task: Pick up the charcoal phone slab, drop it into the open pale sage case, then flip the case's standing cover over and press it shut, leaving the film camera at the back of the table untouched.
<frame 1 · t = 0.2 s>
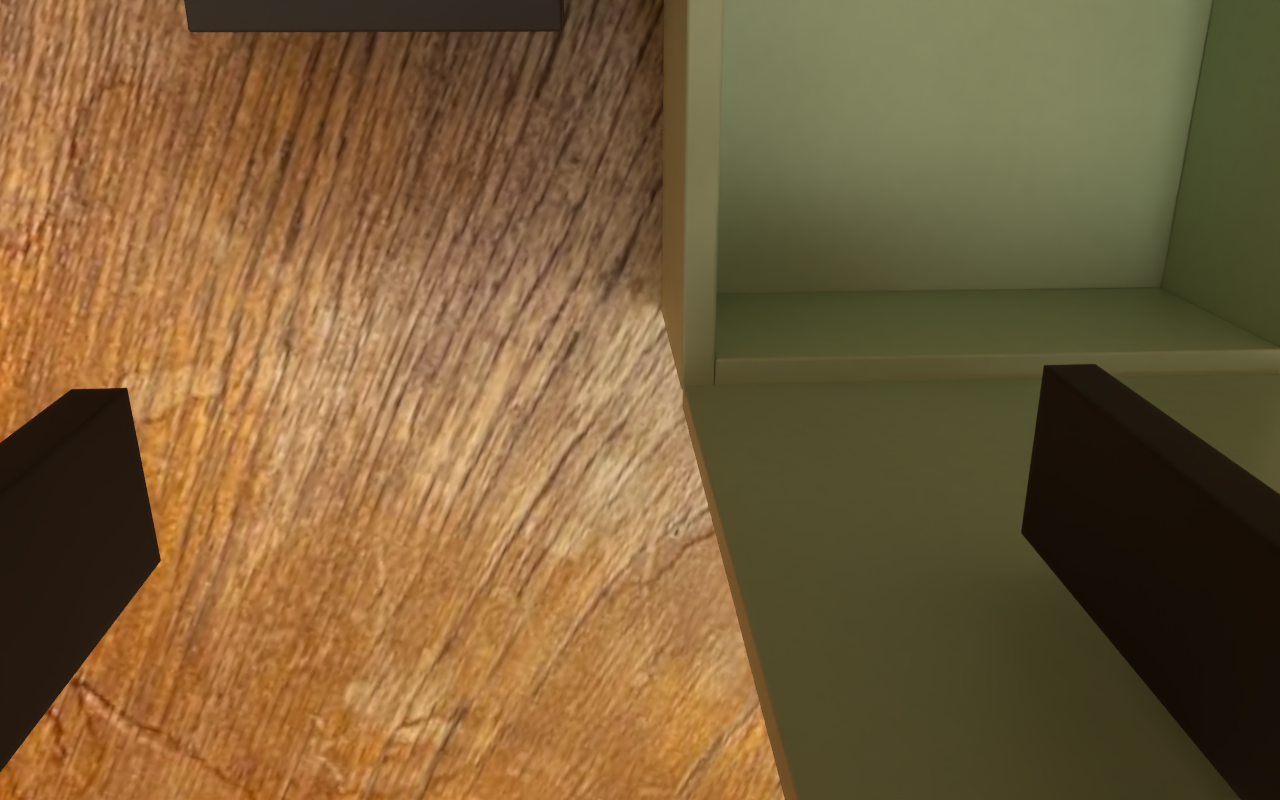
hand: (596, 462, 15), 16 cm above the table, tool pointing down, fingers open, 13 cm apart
cover: (1162, 523, 18), point 14 cm above the table, hinge at 88.6°
case: (940, 75, 29), on the table
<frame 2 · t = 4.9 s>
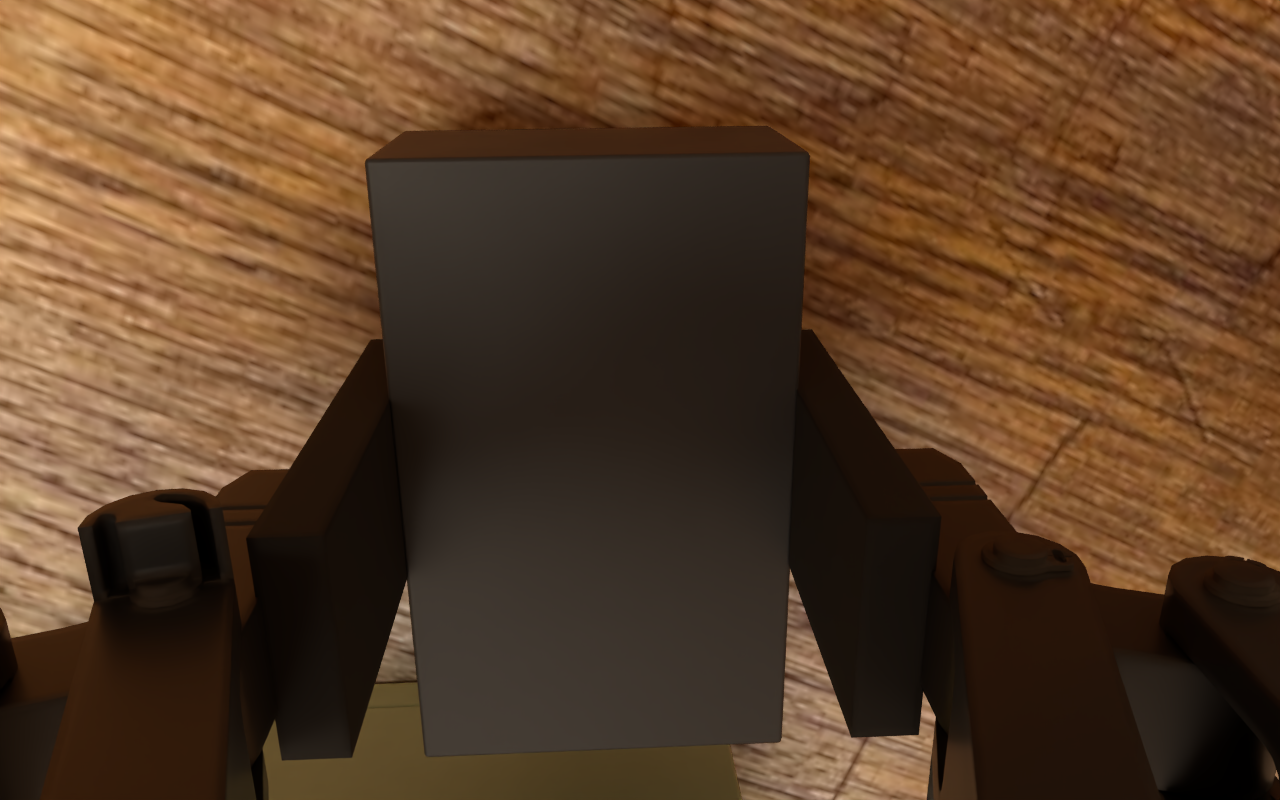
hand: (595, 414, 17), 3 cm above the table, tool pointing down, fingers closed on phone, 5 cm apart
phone: (595, 407, 17), point 3 cm above the table, touching gripper
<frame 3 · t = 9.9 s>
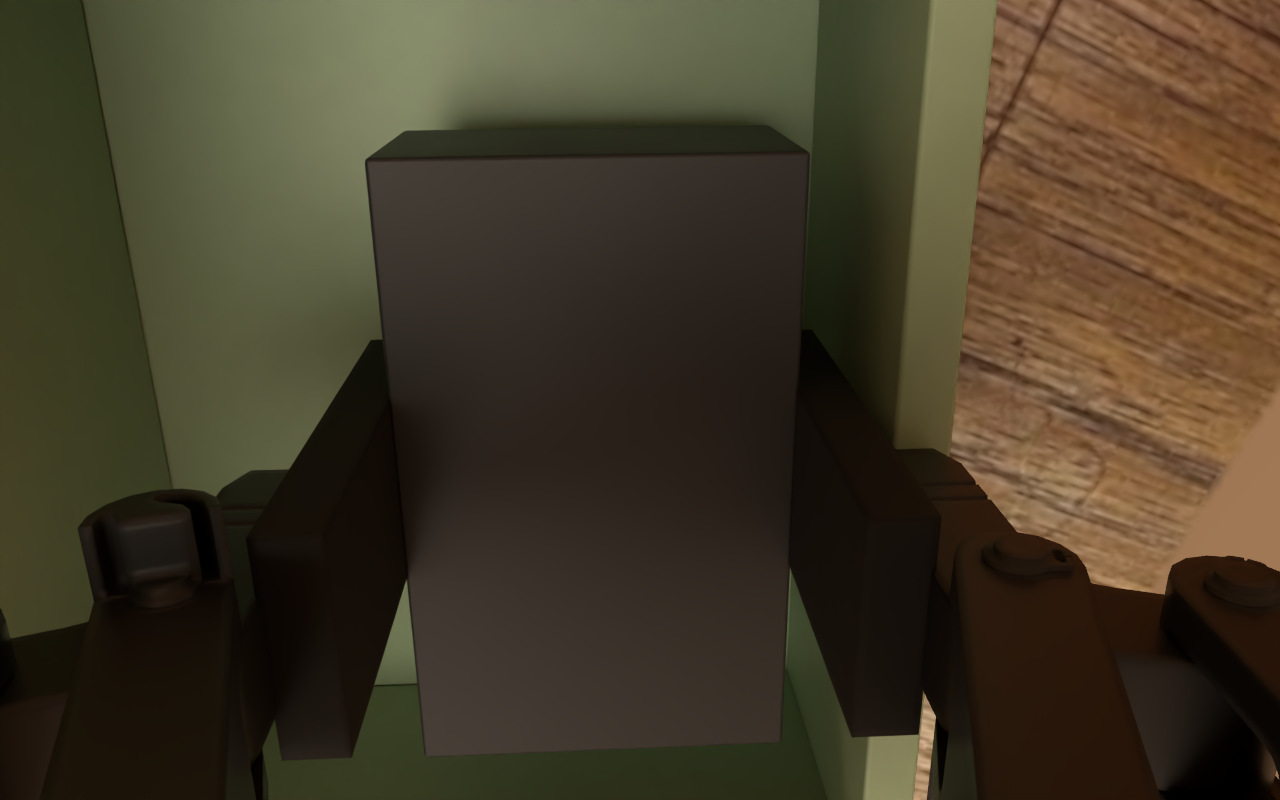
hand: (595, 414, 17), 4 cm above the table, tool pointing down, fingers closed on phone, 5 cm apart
case: (484, 350, 20), on the table
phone: (595, 407, 17), point 3 cm above the table, touching gripper
when the fingers open (6 cm above the table, at t = 17.9 s): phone drops 5 cm, resting on case.
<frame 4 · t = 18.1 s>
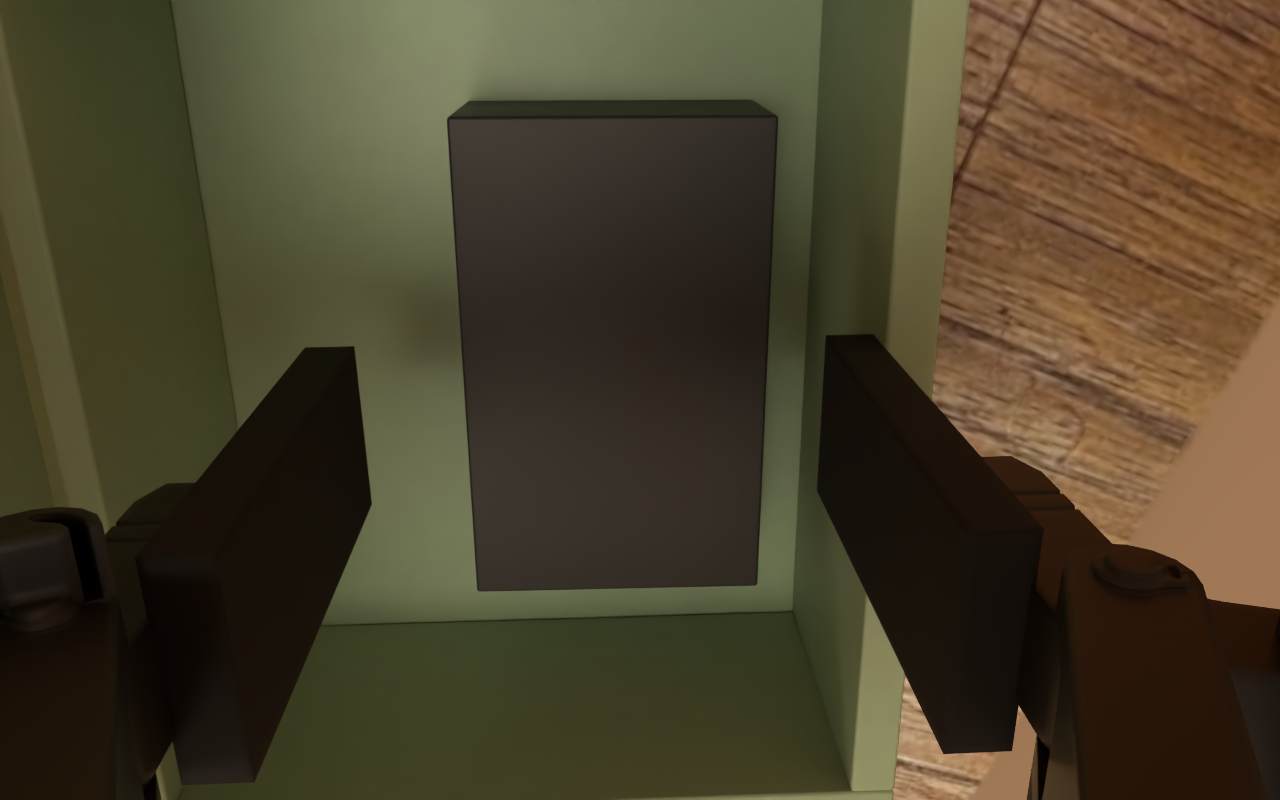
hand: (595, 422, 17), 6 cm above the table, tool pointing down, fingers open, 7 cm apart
case: (520, 316, 22), on the table
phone: (613, 325, 22), point 1 cm above the table, touching case
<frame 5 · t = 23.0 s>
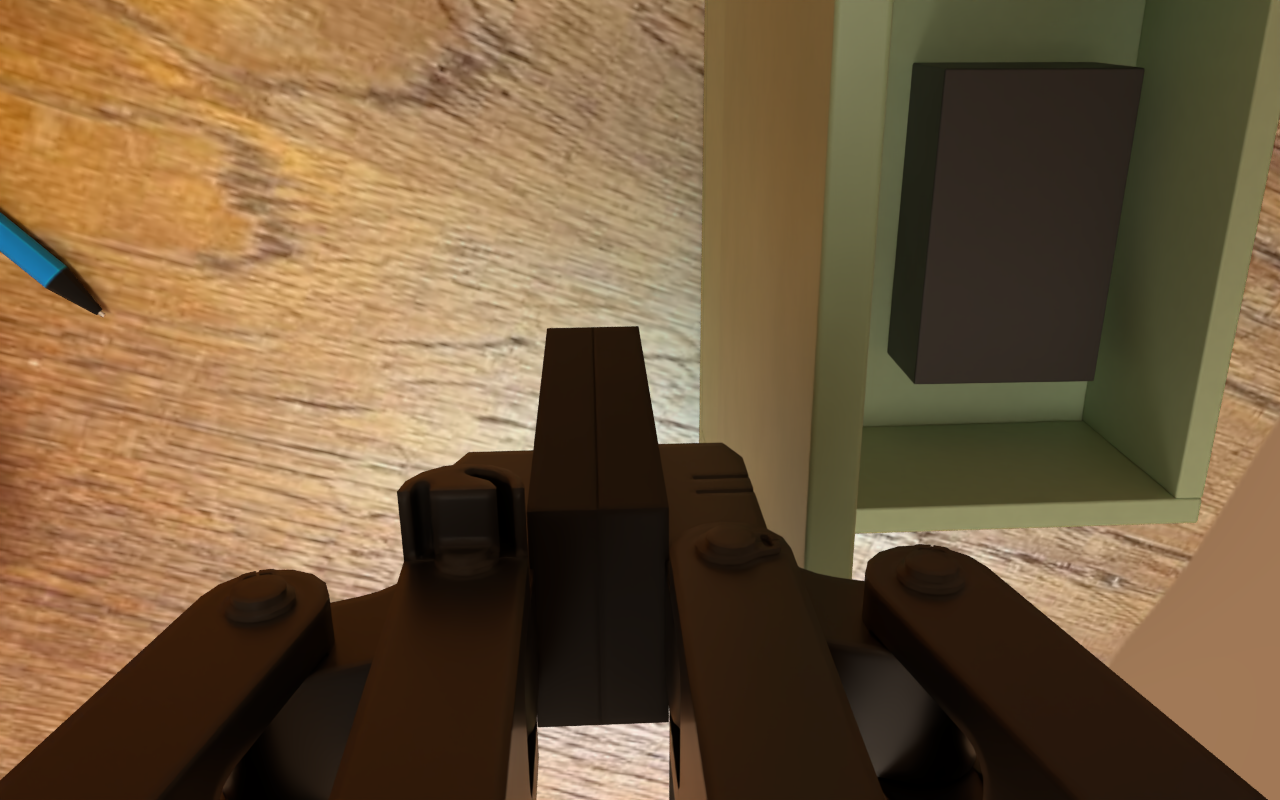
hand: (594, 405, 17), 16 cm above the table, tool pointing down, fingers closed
cover: (764, 361, 19), point 14 cm above the table, hinge at 92.9°
case: (915, 210, 33), on the table
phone: (986, 214, 32), point 1 cm above the table, touching case
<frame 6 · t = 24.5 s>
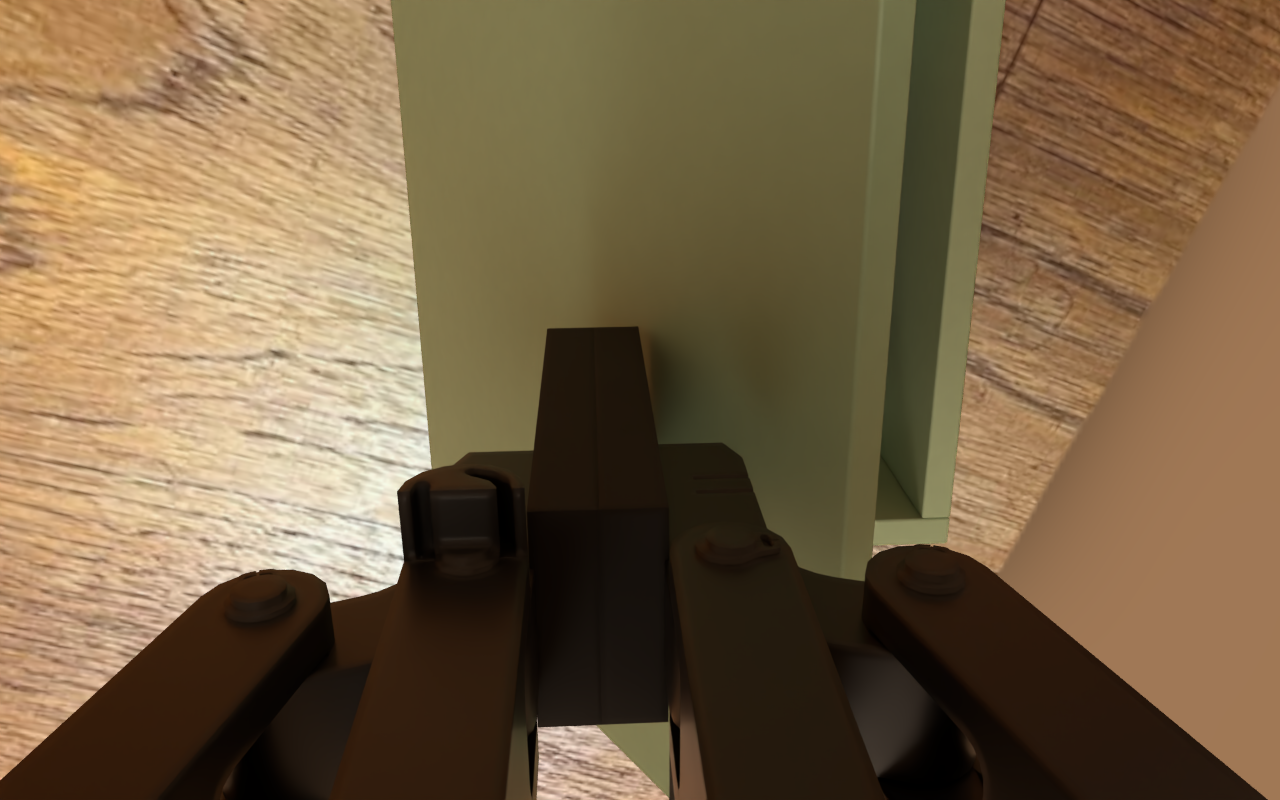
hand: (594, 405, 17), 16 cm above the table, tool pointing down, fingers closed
cover: (582, 360, 20), point 13 cm above the table, hinge at 58.6°
case: (681, 219, 32), on the table
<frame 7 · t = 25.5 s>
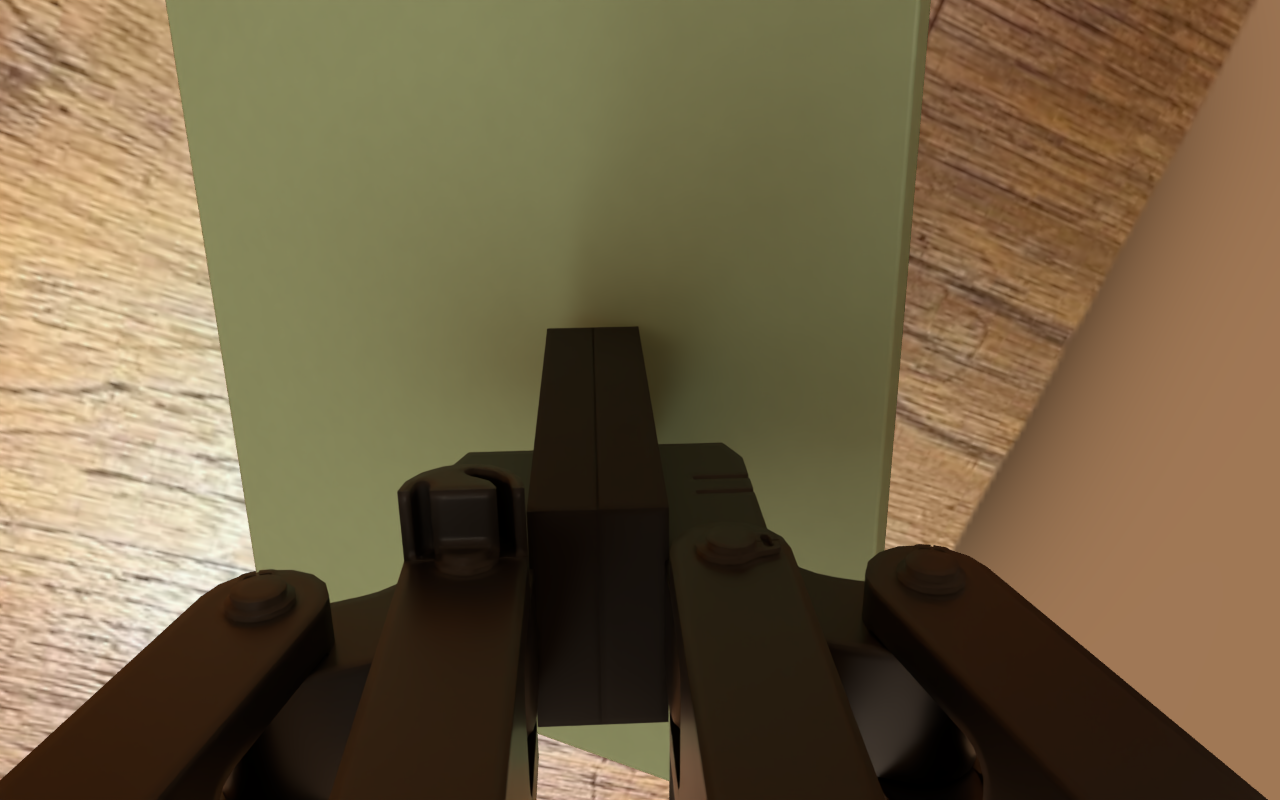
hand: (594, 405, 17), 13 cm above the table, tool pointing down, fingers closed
cover: (502, 367, 19), point 11 cm above the table, hinge at 30.9°, touching gripper
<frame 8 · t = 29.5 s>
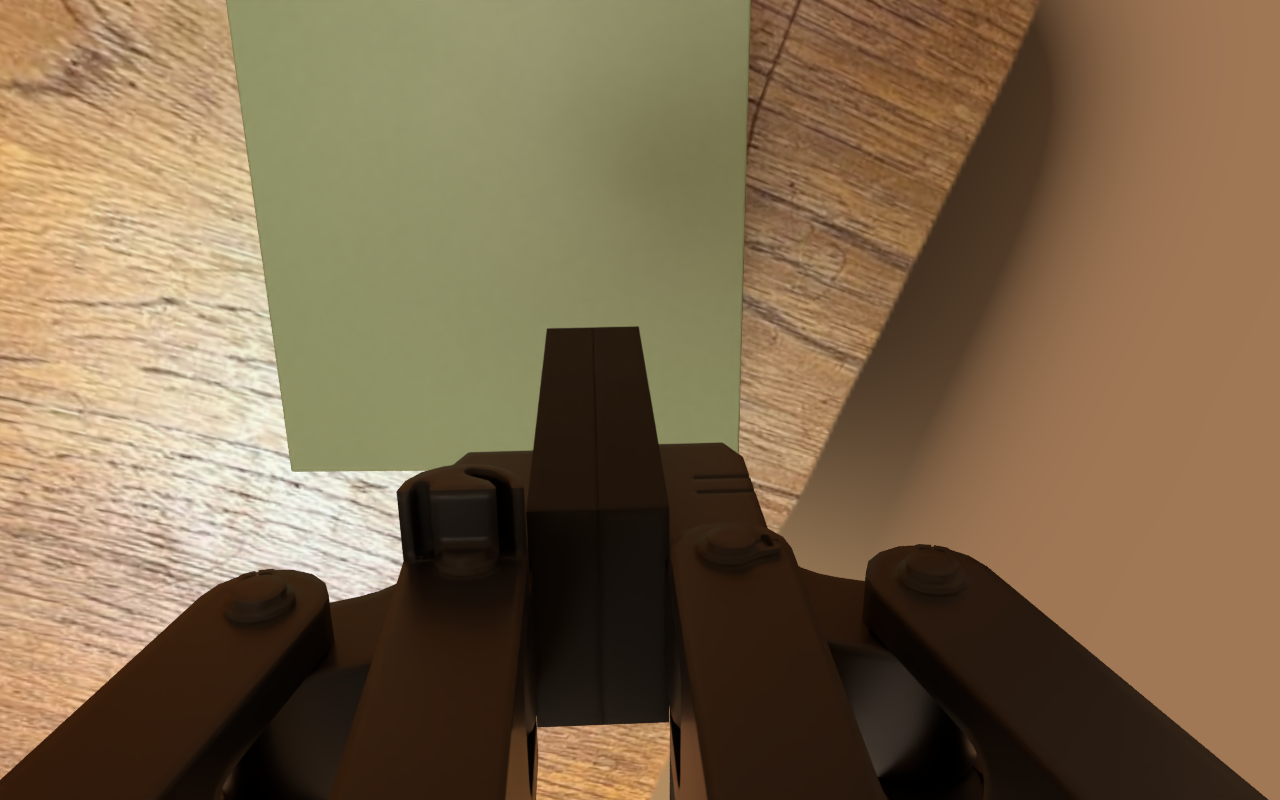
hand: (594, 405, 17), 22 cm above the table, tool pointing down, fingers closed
cover: (502, 228, 31), point 8 cm above the table, hinge at 2.8°
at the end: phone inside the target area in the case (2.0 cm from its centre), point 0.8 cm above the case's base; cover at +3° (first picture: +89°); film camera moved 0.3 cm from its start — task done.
